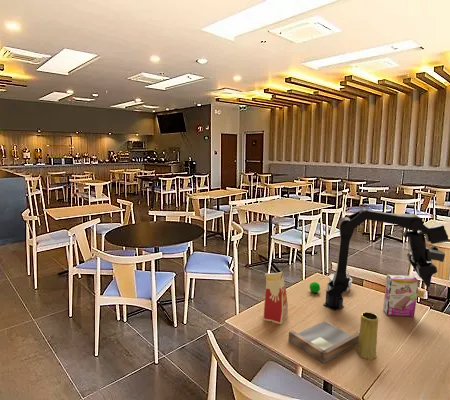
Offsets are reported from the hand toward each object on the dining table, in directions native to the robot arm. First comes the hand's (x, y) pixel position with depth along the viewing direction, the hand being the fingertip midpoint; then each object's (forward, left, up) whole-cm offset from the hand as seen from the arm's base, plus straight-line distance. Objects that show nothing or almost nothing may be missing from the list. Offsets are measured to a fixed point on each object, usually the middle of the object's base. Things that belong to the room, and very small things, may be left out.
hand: (424, 282), depth 136 cm
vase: (+1, -41, -16) cm, 44 cm away
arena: (-12, -47, -15) cm, 51 cm away
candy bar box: (-7, -5, -16) cm, 18 cm away
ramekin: (-37, -4, -16) cm, 40 cm away
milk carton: (-35, -50, -16) cm, 63 cm away
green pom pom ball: (-41, -18, -16) cm, 47 cm away
